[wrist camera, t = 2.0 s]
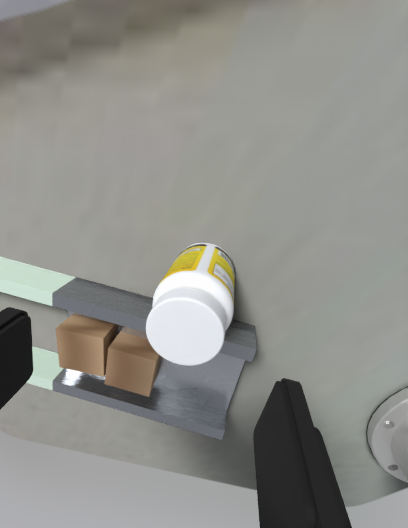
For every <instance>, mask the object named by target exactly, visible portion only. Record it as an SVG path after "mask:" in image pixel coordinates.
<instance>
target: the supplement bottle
mask: <svg viewBox="0 0 408 528" xmlns="http://www.w3.org/2000/svg"><path fill="white" fill-rule="evenodd" d="M234 282H235V269H234V264H233V261H232V259H231V258H230V256H229V255H228V253H227V252H226V251H225V250H223V249H222V248H220V247H219V246H217V245H214V244H210V243H196V244H193V245H190V246H189V247H187V248H186V249H184V250H183V251H182V252H181V253H180V255H179V256H178V257H177V259H176V260H175V262H174V263H173V265H172V266H171V268H170V269H169V271H168V272H167V274H166V275H165V276H164V278H163V279H162V281H161V282H160V284H159V285H158V287H157V289H156V291H155V294H154V297H153V304H152V306H153V308H152V310H151V311H150V313H149V315H148V318H147V321H146V335H147V338H148V340H149V343H150V344H151V346H152V347H153V349H154V350H155V351H156V352H157V353H158V354H159V355H160V356H162V357H163V358H165V359H166V360H168V361H171V362H173V363H176V364H180V365H187V366H192V365H199V364H202V363H205V362H208V361H209V360H211V359H212V358H214V357H215V356H216V355H217V354H218V352H219V351H220V349H221V348H222V345H223V342H224V337H225V331H226V330H227V328H228V327H229V325H230V323H231V321H232V317H233V312H234Z"/></svg>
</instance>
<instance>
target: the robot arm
mask: <svg viewBox="0 0 408 528" xmlns="http://www.w3.org/2000/svg"><path fill="white" fill-rule="evenodd" d="M32 373H33V352H32V333H31V319H30V317H29V316H28V314H27V312H26V311H22V310H18V309H15V308H11V307H9V308H6V309H4V310H2V311H1V312H0V409H1V408H2V407H3V406H4V405H5V404H6V403H7V402H8V401H9V400H10V399H11V398H12V397H13V396H14V395H15V394H16V393H17V392H18V390H19V389H20V388H21V387H22V386H23V385H24V384H25V383H26V382H27V381H28V380H29V379H30V377H31V375H32ZM367 437H368V443H369V445H370V448H371V450H372V452H373V455H374V457H375V458H376V460H377V461H378V463H379V464H380V466H381V467H382V468H383V469H384V470H385V471H387V472H388V473H390V474H391V475H393V476H394V477H396V478H398V479H400V480H402V481H404V482H407V483H408V388H405V389H403V390H401V391H399V392H398V393H396V394H394V395H393V396H391V397H390V398H388V399H387V400H386V401H385V402H384V403H383V404H381V405H380V407H379V408H378V409H377V410H376V412H375V413H374V414H373V416H372V418H371V420H370V422H369V425H368V431H367ZM254 453H255V466H256V480H257V493H258V507H259V521H260V528H352V527H351V524H350V520H349V517H348V514H347V512H346V508H345V505H344V502H343V499H342V496H341V493H340V490H339V487H338V484H337V481H336V477H335V474H334V471H333V468H332V465H331V462H330V459H329V456H328V453H327V450H326V447H325V444H324V441H323V438H322V435H321V433H320V431H319V430H318V429H317V428H315V427H314V425H313V422H312V419H311V415H310V412H309V409H308V406H307V402H306V399H305V396H304V393H303V389H302V386H301V384H300V383H299V382H296V381H293V380H289V379H285V378H283V379H282V380H281V382H280V381H277V382H276V383H275V385H274V388H273V390H272V392H271V394H270V396H269V398H268V401H267V403H266V405H265V407H264V409H263V412H262V414H261V416H260V418H259V420H258V422H257V425H256V427H255V430H254Z"/></svg>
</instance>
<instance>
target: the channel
mask: <svg viewBox="0 0 408 528" xmlns="http://www.w3.org/2000/svg"><path fill="white" fill-rule="evenodd" d="M152 304H153V298H150V297H146V296H143V295H139V294H135V293H132V292H128V291H124V290H121V289H117V288H113V287H110V286H106V285H102V284H99V283H95V282H91V281H88V280H84V279H80V278H77V277H76V278H74V279H73V280H71V281H70V282H68V283H67V284H65V285H64V286H62V287H61V288H59V289H58V290H56V291H55V292H53V293H52V306H53V307H57V308H60V309H64V310H68V318H69V317H70V316H71V315H72V314H75V315H80V316H85V317H90V318H95V319H100V320H103V321H107V322H110V323H114V324H116V337H117V335H118V334H119V333H120V331H121V332H125V333H128V334H132V335H135V336H139V337H143V338H146V339H148V338H147V335H146V321H147V318H148V315H149V313H150V311H151V310H152V308H153V306H152ZM256 350H257V347H256V336H255V326H252V325H249V324H245V323H241V322H238V321H234V320H232V321H231V323H230V325H229V327H228V328H227V330H226V331H225V337H224V342H223V345H222V348H221V349H220V351H219V352H218V354H217V355H216V356H215V357H214V358H212V359H211V360H209V361H208V362H205V363H202V364H199V365H192V366H187V365H180V364H176V363H173V362H171V361H168V360H166V359H165V358H163V357H162V356H161V361H160V366H159V370H158V375H157V379H156V381H155V384H154V386H153V389H152V391H151V394H150V396H149V397H147V396H144V395H141V394H137V393H134V392H130V391H127V390H123V389H120V388H117V387H113V386H110V385H106V384H105V376H104V377H102V376H97V375H93V374H88V373H84V372H79V371H75V370H70V369H66V368H64V369H63V370H62V371H61V372H60V373H59V374H58V375H57V376H56V378H55V379H54V380H53V391H56V392H60V393H63V394H66V395H70V396H73V397H77V398H80V399H83V400H87V401H90V402H94V403H97V404H100V405H104V406H107V407H110V408H114V409H117V410H121V411H124V412H127V413H131V414H134V415H138V416H141V417H144V418H148V419H151V420H154V421H158V422H161V423H165V424H168V425H171V426H175V427H178V428H182V429H185V430H188V431H192V432H195V433H199V434H202V435H205V436H209V437H212V438H215V439H219V440H222V438H223V436H224V433H225V425H226V411H227V408H228V405H229V402H230V400H231V397H232V394H233V392H234V389H235V386H236V384H237V381H238V378H239V376H240V373H241V370H242V368H243V365H244V362H245V360H246V361H250V362H252V361H253V358H254V356H255V353H256ZM105 375H106V374H105Z"/></svg>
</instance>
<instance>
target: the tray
mask: <svg viewBox="0 0 408 528" xmlns="http://www.w3.org/2000/svg"><path fill="white" fill-rule="evenodd" d="M74 278H76V277H73V276H69V275H66V274H62V273H58V272H55V271H51V270H47V269H44V268H40V267H36V266H33V265H29V264H25V263H22V262H18V261H14V260H11V259H7V258H3V257H0V292H3V293H7V294H10V295H14V296H18V297H21V298H25V299H28V300H32V301H35V302H39V303H43V304H46V305H50V306H52V293H53V292H55V291H56V290H58V289H59V288H61V287H62V286H64V285H65V284H67V283H68V282H70V281H71V280H73V279H74ZM32 352H33V373H32V375H31V377H30V379H29V380H28V381H27V382H26V383H29V384H33V385H36V386H39V387H43V388H46V389H50V390H53V380H54V379H55V378H56V376H57V375H58V374H59V373H60V372H61V371H62V370H63V369H64V368H61V367H59V357H58V353H55V352H52V351H48V350H45V349H41V348H38V347H34V346H32Z"/></svg>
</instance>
